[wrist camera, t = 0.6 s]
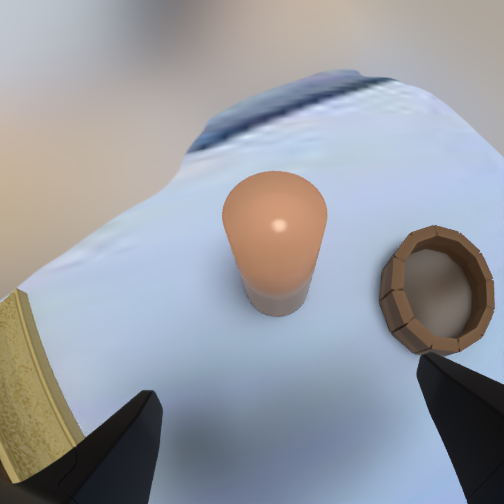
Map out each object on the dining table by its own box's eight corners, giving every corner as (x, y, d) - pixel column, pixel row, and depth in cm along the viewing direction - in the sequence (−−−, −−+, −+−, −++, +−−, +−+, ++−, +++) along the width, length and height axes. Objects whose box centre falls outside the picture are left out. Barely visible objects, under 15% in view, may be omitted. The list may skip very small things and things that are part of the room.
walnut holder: (489, 288, 21) (506, 277, 18) (442, 379, 19) (461, 377, 16) (416, 222, 25) (427, 205, 22) (356, 303, 22) (366, 292, 20)
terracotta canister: (320, 284, 23) (347, 209, 14) (278, 329, 22) (277, 281, 12) (276, 247, 25) (271, 157, 15) (233, 287, 24) (201, 214, 14)
